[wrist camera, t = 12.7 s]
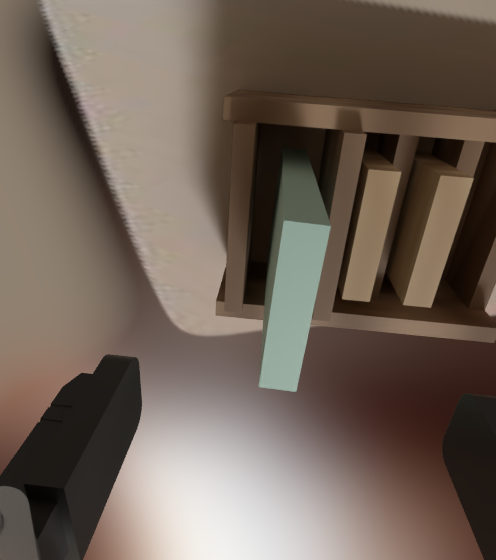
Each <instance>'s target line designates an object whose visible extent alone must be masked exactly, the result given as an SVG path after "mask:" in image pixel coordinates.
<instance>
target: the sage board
mask: <svg viewBox="0 0 496 560" xmlns="http://www.w3.org/2000/svg"><path fill="white" fill-rule="evenodd" d="M330 228H331V225H330V222H329V218H328V215H327V212H326V209H325V206H324V203H323V200H322V197H321V194H320V191H319V188H318V185H317V181H316V178H315V175H314V172H313V169H312V166H311V163H310V160H309V157H308V154H307V151H306V150H305V149H297V148H288V147H282V153H281V160H280V168H279V175H278V182H277V190H276V197H275V204H274V212H273V219H272V226H271V233H270V241H269V248H268V262H267V276H266V290H265V304H264V319H263V334H262V348H261V362H260V376H259V387H263V388H271V389H279V390H287V391H295V392H296V390H297V385H298V381H299V376H300V371H301V366H302V361H303V357H304V352H305V347H306V343H307V338H308V333H309V328H310V324H311V319H312V314H313V309H314V304H315V300H316V295H317V290H318V285H319V281H320V276H321V271H322V266H323V262H324V257H325V252H326V247H327V243H328V238H329V233H330Z"/></svg>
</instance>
